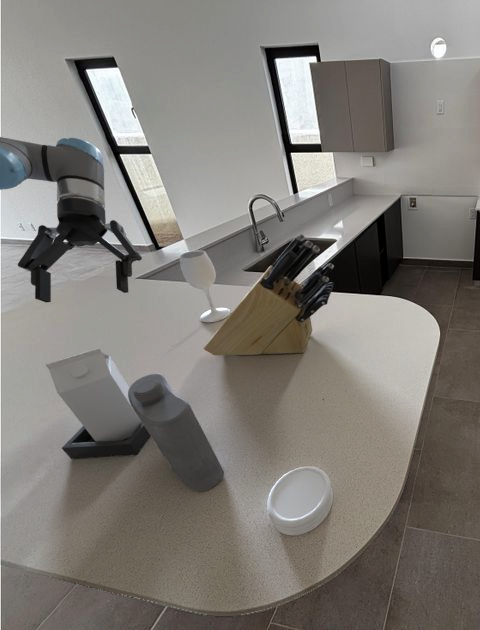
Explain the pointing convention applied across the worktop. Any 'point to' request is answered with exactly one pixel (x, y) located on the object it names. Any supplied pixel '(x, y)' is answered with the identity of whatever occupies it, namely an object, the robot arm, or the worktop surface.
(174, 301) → the worktop surface
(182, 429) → the flask
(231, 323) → the knife block
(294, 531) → the coaster
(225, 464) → the worktop surface
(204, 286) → the wineglass
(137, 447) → the tray
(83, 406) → the milk carton
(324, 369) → the worktop surface
